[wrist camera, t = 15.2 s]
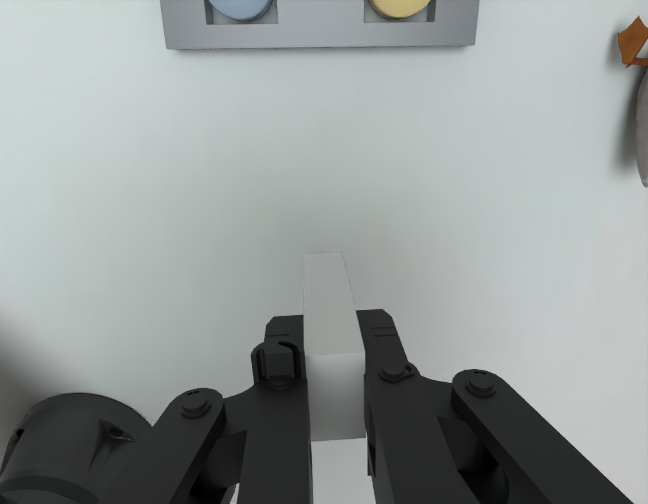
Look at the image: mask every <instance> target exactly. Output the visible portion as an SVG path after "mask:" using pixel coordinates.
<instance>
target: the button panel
mask: <svg viewBox="0 0 648 504" xmlns="http://www.w3.org/2000/svg"><path fill="white" fill-rule="evenodd" d="M160 5H161V12H162V20H163V27H164V34H165V41H166V49H254V48H332V47H411V46H468V45H475V37H476V28H477V19H478V9H479V0H430V1H429V3H428V11H427V22H393V23H364V0H277V12H278V24H227V25H214V24H213V14H212V4H211V2H210V1H209V0H160Z"/></svg>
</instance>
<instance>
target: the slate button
mask: <svg viewBox="0 0 648 504" xmlns="http://www.w3.org/2000/svg"><path fill="white" fill-rule="evenodd" d="M209 1H210V2H211V4H212V5H213V6H214V7H215V8H216V9H217V10H218V11H220V12H221V13H223V14H225V15H227V16H229V17H231V18H233V19H235V20H238V21H244V22H247V21H253V20H256V19H258V18H260V17H261V16H262V15H264V14H265V12H266V11H267V10H268V9H269V7H270V5H271V3H272V0H209Z"/></svg>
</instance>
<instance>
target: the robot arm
mask: <svg viewBox="0 0 648 504" xmlns="http://www.w3.org/2000/svg"><path fill="white" fill-rule="evenodd" d="M303 313H304V315H293V316H276V317H273V318H272V319H271V320H270V322H269V323H268V324H267V325H266V331H265V338H264V342H263V343H261V344H259V345H258V346H257V347H255V348H254V349H253V351H252V353H251V362H252V370H253V378H254V385H253V386H252V387H251V388H249V389H248V390H246V391H244V392H242V393H240V394H237V395H234V396H231V397H228V398H224V399H223V397H222V395H221V394H220V393H219V392H218V391H216V390H213V389H209V388H196V389H193V390H189V391H186V392H184V393H183V394H181V395H179V396H177V397H176V398H175V399H174V400H173V401H172V402H171V403H170V404H169V405H168V407H167V408H166V409H165V411H164V412H163V414H162V415H161V416H160V418H159V419H158V421H157V422H156V423H155V425H154V426H153V427H152V428H151V427H150V426H149V425H148V423H147V422H146V421H145V420H144V419H143V418H142V417H141V416H139V415H138V414H137V413H136V412H134V411H133V410H131V409H130V408H128V407H126V406H125V405H123V404H121V403H118V402H116V401H114V400H111V399H108V398H104V397H101V396H96V395H90V394H65V395H59V396H55V397H52V398H49V399H47V400H44V401H42V402H41V403H39V404H37V405H36V406H35V407H33V408H32V409H31V410H30V411H29V412H28V413H27V415H26V416H25V417H24V418H23V420H22V421H21V422H20V423H19V425H18V426H17V427H16V429H15V430H14V432H13V434H12V435H11V438H10V440H9V443H8V446H7V449H6V452H5V455H4V458H3V461H2V464H1V467H0V504H230V501H231V499H232V497H233V494H234V492H235V488H236V484H237V483H240V485H239V492H238V499H237V504H313V478H312V453H311V442H312V441H326V440H341V439H356V438H366V432H367V441H368V476H370V475H371V477H372V482H373V488H374V494H375V500H376V504H634V503H633V502H631V501H630V500H629V499H628V498H627V497H626V496H625V495H624V494H623V493H622V492H621V491H620V490H619V489H618V488H617V487H616V486H615V485H614V484H613V483H612V482H610V481H609V480H608V479H607V478H606V477H605V476H604V475H603V474H602V473H601V472H600V471H599V470H598V469H597V468H596V467H595V466H594V465H593V464H592V463H591V462H589V461H588V460H587V459H586V458H585V457H584V456H583V455H582V454H581V453H580V452H579V451H578V450H577V449H576V448H575V447H574V446H573V445H572V444H571V443H569V442H568V441H567V440H566V439H565V438H564V437H563V436H562V435H561V434H560V433H559V432H558V431H557V430H556V429H555V428H554V427H553V426H552V425H551V424H550V423H548V422H547V421H546V420H545V419H544V418H543V417H542V416H541V415H540V414H539V413H538V412H537V411H536V410H535V409H534V408H533V407H532V406H531V405H530V404H528V403H527V402H526V401H525V400H524V399H523V398H522V397H521V396H520V395H519V394H518V393H517V392H516V391H515V390H514V389H513V388H512V387H511V386H510V385H509V384H507V383H506V382H505V381H504V380H503V379H502V378H500V377H499V376H497V375H496V374H493V373H491V372H488V371H485V370H478V369H470V370H464V371H461V372H459V373H457V374H456V375H455V376H454V378H453V381H452V383H448V382H442V381H436V380H432V379H428V378H426V377H423V376H421V375H420V373H419V371H418V370H417V368H416V367H415V366H414V365H413V364H411V363H410V362H408V360H407V357H406V354H405V352H404V349H403V346H402V343H401V341H400V338H399V336H398V333H397V330H396V328H395V324H394V322H393V319H392V317H391V316H390V315H389V314H388V313H387V312H385V311H384V310H383V309H375V310H358V311H356V310H355V306H354V301H353V297H352V293H351V288H350V284H349V280H348V275H347V271H346V266H345V262H344V258H343V253H342V252H325V253H307V254H303Z"/></svg>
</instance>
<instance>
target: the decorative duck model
mask: <svg viewBox="0 0 648 504" xmlns="http://www.w3.org/2000/svg"><path fill="white" fill-rule="evenodd" d="M647 39H648V28H647V27H646V26H645V25H644V24H643V22H642V21H641V19H640V18H639V16H638V17H637V18H636V19H635V21H634V22H633V23H632V24H631V25H630V26H629V27H628V28H627V29H626V30H625V31H623V32H622V33H620V34H619V33H618V43H619V48H620V50H621V54H622V62H623V64H628V65H627V66H626V68H627V67H629V66H630V65H632V64H633V65H645V66H648V59H646V58H637V57H636V56H637V54H638V53H639V51H640V50H641V48H642V47H643V45H644V43H645V42H646V40H647ZM635 135H636V159H637V167H638V171H639V175H640V178H641V181H642V184H643V185H644V187H648V69H647V71H646V73H645V75H644V78H643V80H642V83H641V85H640V89H639V92H638V97H637V109H636V132H635Z"/></svg>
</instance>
